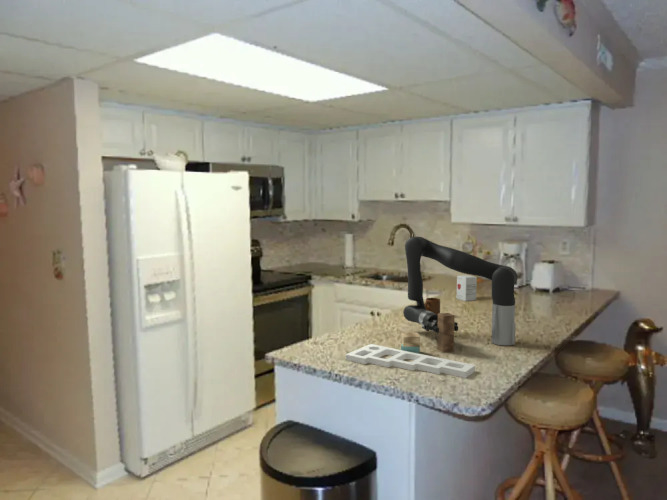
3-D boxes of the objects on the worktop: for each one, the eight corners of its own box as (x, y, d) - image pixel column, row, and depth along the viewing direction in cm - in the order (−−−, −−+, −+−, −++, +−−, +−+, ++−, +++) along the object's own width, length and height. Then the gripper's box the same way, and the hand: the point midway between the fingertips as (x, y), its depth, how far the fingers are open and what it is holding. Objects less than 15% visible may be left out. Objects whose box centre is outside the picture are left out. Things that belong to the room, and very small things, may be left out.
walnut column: (447, 347, 206) (448, 312, 205) (453, 351, 201) (454, 315, 200) (437, 348, 205) (437, 313, 203) (442, 352, 200) (443, 316, 199)
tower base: (419, 352, 201) (419, 342, 201) (418, 357, 194) (418, 347, 194) (402, 350, 203) (402, 341, 202) (400, 355, 196) (401, 346, 196)
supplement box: (455, 298, 313) (456, 275, 311) (467, 297, 316) (467, 274, 315) (465, 301, 305) (465, 277, 303) (476, 300, 308) (477, 276, 307)
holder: (475, 372, 178) (475, 365, 177) (454, 387, 163) (455, 379, 163) (370, 350, 205) (370, 343, 204) (345, 361, 190) (345, 354, 190)
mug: (431, 320, 256) (431, 302, 255) (418, 317, 261) (418, 300, 260) (442, 316, 265) (442, 298, 264) (430, 314, 270) (430, 297, 269)
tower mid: (417, 342, 201) (417, 332, 201) (419, 346, 195) (420, 336, 195) (401, 342, 202) (401, 332, 201) (403, 346, 195) (403, 336, 195)
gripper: (415, 313, 214) (432, 321, 198) (445, 311, 218) (463, 319, 202) (415, 330, 215) (431, 339, 199) (444, 327, 218) (463, 337, 203)
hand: (447, 329), depth 200 cm, fingers open, 8 cm apart
